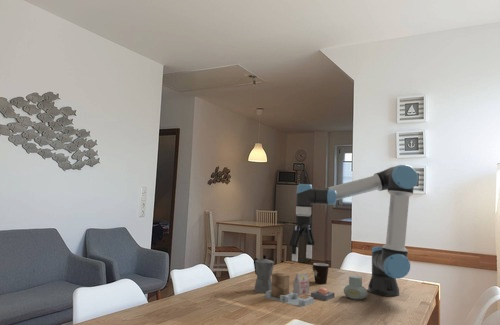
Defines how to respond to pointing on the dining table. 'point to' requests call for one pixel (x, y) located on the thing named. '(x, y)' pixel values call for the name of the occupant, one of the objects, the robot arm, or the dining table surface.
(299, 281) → the tea bag
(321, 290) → the button
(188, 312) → the dining table surface
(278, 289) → the walnut block
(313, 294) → the switch box
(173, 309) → the dining table surface
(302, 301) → the board
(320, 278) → the coffee mug
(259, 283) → the coffeepot
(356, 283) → the air freshener
